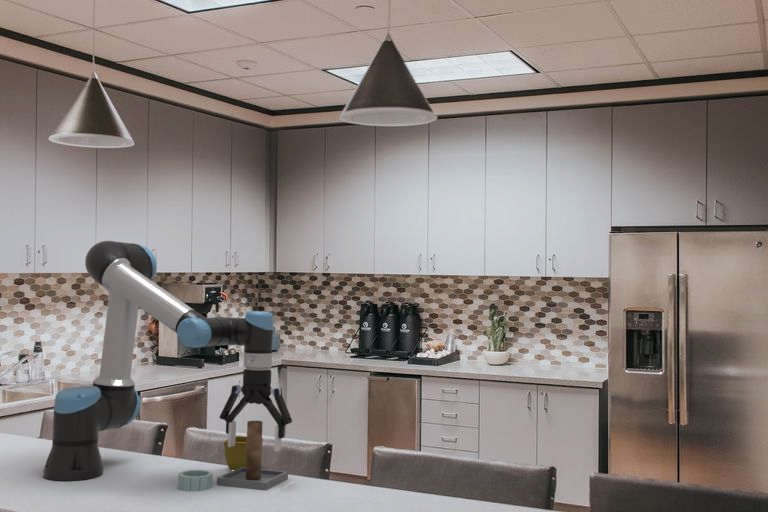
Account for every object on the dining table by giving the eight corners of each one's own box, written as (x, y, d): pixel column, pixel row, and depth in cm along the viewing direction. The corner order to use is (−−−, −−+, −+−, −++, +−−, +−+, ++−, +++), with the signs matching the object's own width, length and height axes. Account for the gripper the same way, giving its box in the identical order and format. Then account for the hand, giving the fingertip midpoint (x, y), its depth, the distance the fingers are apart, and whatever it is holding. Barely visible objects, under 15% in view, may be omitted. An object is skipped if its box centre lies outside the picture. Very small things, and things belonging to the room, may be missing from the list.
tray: (216, 487, 201) (217, 477, 201) (241, 476, 215) (241, 467, 215) (265, 492, 197) (265, 482, 197) (287, 481, 211) (288, 471, 211)
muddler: (242, 479, 205) (244, 422, 205) (249, 476, 208) (251, 420, 209) (256, 480, 203) (258, 423, 204) (263, 477, 207) (265, 421, 208)
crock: (171, 491, 196) (172, 475, 196) (189, 484, 204) (189, 468, 204) (201, 494, 193) (201, 478, 194) (217, 487, 201) (218, 471, 202)
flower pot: (251, 475, 217) (252, 442, 217) (222, 472, 218) (223, 440, 219) (262, 468, 225) (263, 437, 226) (234, 466, 227) (235, 435, 227)
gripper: (209, 367, 208) (205, 446, 207) (294, 372, 201) (291, 454, 199) (222, 365, 215) (219, 442, 214) (305, 370, 208) (302, 449, 206)
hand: (254, 448), depth 206 cm, fingers open, 13 cm apart
